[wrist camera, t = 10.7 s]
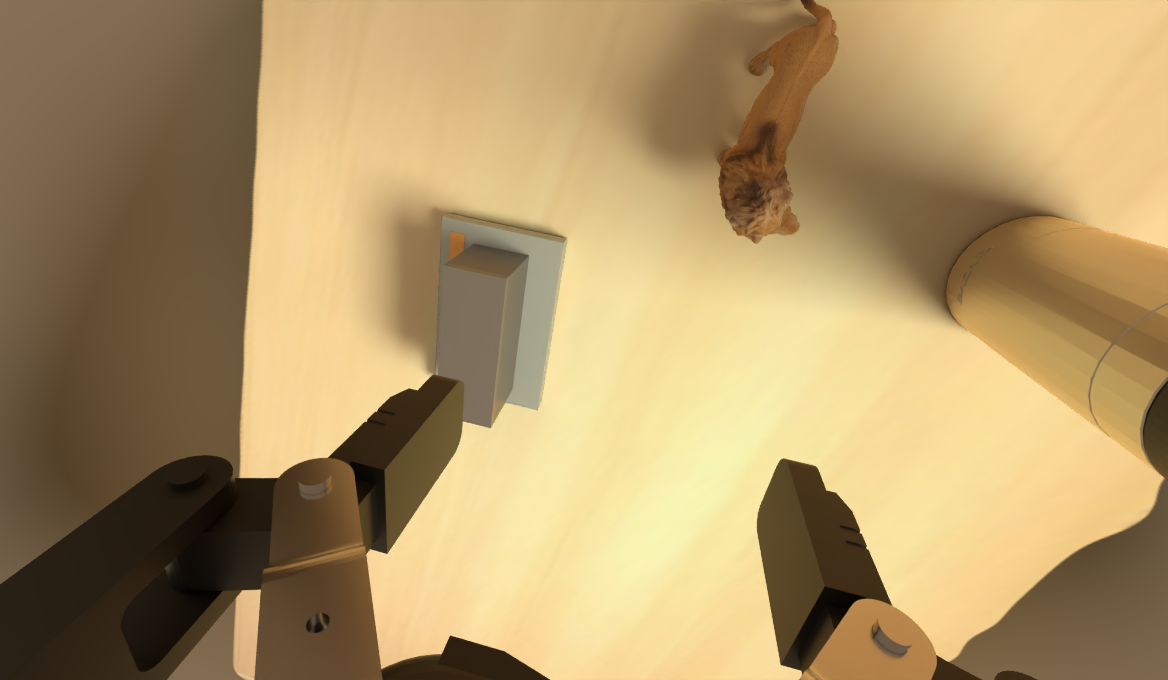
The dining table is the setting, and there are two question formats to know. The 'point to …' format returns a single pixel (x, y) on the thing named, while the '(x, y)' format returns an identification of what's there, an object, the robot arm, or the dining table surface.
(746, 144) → the lion figurine
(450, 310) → the block
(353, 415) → the dining table surface
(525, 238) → the board
